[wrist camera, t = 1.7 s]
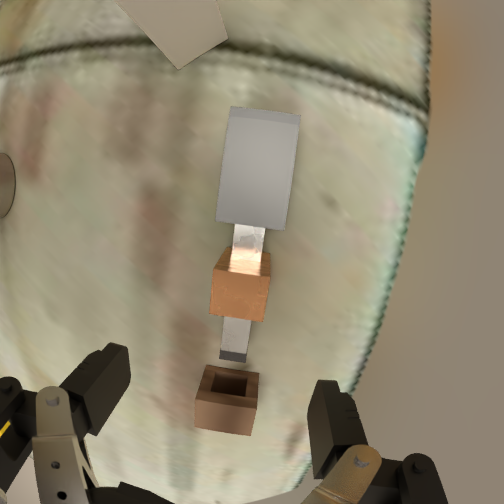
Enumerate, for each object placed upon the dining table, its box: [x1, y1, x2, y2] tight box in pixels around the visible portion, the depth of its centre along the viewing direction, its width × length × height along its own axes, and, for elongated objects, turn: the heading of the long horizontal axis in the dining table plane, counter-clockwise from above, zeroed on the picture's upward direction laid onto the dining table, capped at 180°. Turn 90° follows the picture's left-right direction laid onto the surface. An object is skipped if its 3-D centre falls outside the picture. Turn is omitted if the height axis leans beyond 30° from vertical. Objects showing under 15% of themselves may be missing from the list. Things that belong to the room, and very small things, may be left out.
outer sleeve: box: [215, 106, 301, 231], centre depth 23 cm, size 5×9×5 cm, turn 172°
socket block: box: [194, 365, 259, 436], centre depth 28 cm, size 6×4×6 cm
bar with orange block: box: [209, 224, 270, 363], centre depth 23 cm, size 4×20×7 cm, turn 172°
